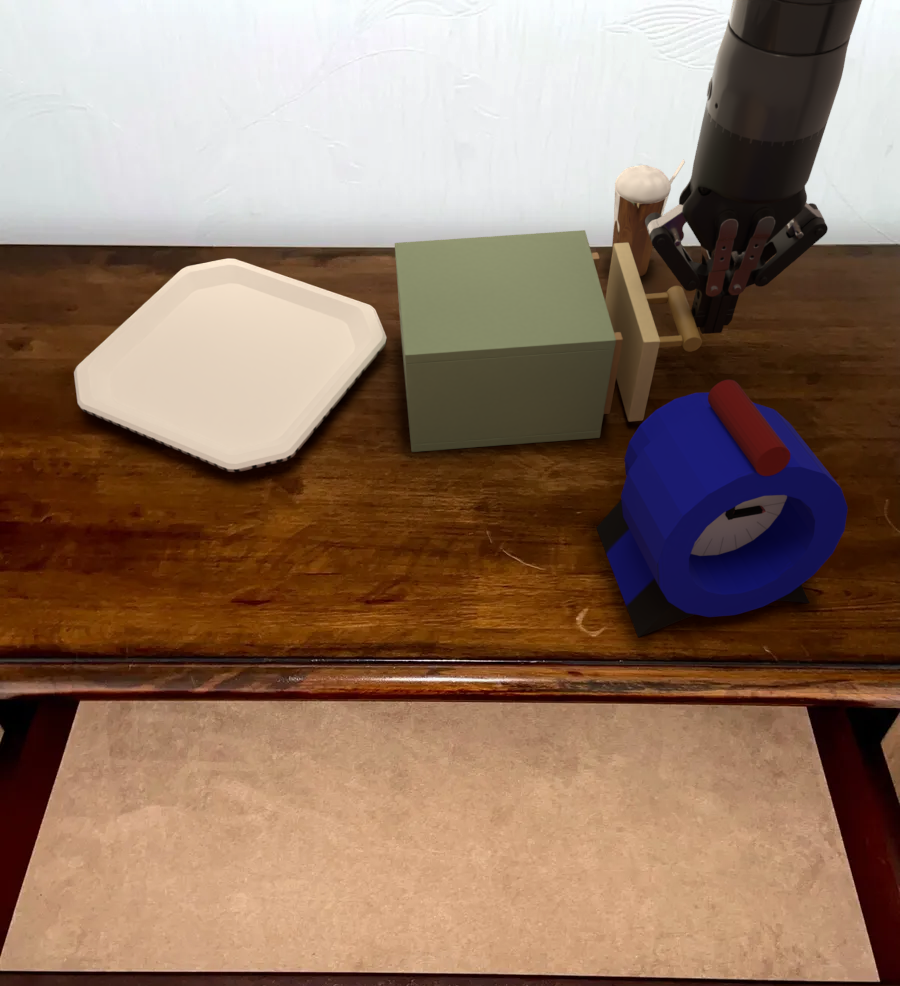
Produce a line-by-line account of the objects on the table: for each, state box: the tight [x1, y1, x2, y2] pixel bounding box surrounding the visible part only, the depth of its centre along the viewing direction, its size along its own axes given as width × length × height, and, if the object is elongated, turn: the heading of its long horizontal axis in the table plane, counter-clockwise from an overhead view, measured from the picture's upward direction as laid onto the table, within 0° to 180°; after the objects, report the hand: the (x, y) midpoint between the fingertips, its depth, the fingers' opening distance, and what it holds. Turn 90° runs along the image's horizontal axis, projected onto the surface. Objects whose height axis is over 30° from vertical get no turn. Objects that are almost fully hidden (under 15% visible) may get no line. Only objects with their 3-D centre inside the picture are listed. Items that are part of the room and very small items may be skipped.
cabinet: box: [394, 229, 616, 453], centre depth 72 cm, size 15×13×10 cm
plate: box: [73, 258, 388, 473], centre depth 77 cm, size 21×21×2 cm
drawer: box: [591, 243, 703, 422], centre depth 73 cm, size 18×11×8 cm, turn 95°
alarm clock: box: [596, 379, 848, 638], centre depth 60 cm, size 12×12×15 cm
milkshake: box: [611, 159, 686, 278], centre depth 81 cm, size 4×5×10 cm
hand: (708, 326), depth 73 cm, fingers closed
